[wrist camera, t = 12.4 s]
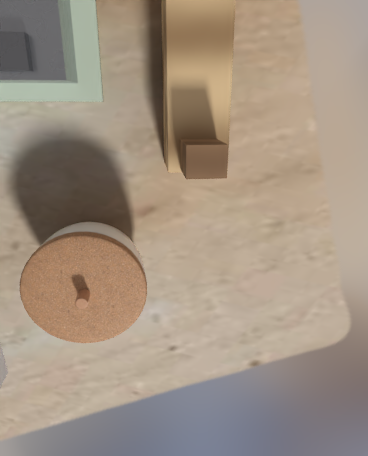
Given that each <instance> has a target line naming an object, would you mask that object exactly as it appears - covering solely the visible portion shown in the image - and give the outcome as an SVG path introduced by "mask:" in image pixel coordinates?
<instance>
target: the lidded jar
mask: <svg viewBox="0 0 368 456" xmlns="http://www.w3.org/2000/svg"><path fill="white" fill-rule="evenodd" d="M20 294H21V300H22V302H23V305H24V308H25V309H26V311H27V313H28V315H29V316H30V317H31V318H32V320H33V321H34V322H35V323H36V324H37V325H38V326H39V327H41V328H42V329H43V330H45V331H46V332H47V333H49V334H51V335H53V336H55V337H57V338H60V339H63V340H66V341H71V342H78V343H92V342H99V341H104V340H107V339H110V338H113V337H115V336H117V335H119V334H121V333H122V332H124V331H125V330H126V329H128V328H129V327H130V326H131V325H132V324H133V323H134V322H135V321H136V320H137V318H138V317H139V315H140V314H141V312H142V310H143V308H144V305H145V302H146V295H147V282H146V277H145V270H144V265H143V261H142V258H141V256H140V253H139V251H138V250H137V248H136V246H135V245H134V243H133V242H132V241H131V240H130V239H129V237H128V236H126V235H125V234H124V233H123V232H121V231H120V230H118V229H116V228H115V227H112V226H110V225H107V224H103V223H99V222H80V223H75V224H72V225H69V226H67V227H65V228H63V229H61V230H59V231H57V232H56V233H54V234H53V235H52V236H50V237H49V238H48V239H47V240H46V241H45V242H44V243H43V244H42V245H41V246H40V247H39V248H38V249H37V250H36V251H35V252H34V253H33V254H32V256H31V257H30V259H29V260H28V262H27V263H26V265H25V267H24V269H23V272H22V275H21V280H20Z"/></svg>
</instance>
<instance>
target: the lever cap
mask: <svg viewBox="0 0 368 456" xmlns="http://www.w3.org/2000/svg"><path fill="white" fill-rule="evenodd" d="M0 83H78V79H77V69H76V59H75V48H74V38H73V28H72V17H71V7H70V0H0Z"/></svg>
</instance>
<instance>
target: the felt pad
mask: <svg viewBox="0 0 368 456" xmlns="http://www.w3.org/2000/svg"><path fill="white" fill-rule="evenodd" d="M70 7H71V17H72V28H73V38H74V48H75V59H76V69H77V79H78V83H0V101H59V102H103V91H102V77H101V64H100V50H99V37H98V24H97V10H96V0H70Z"/></svg>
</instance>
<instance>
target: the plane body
mask: <svg viewBox="0 0 368 456" xmlns="http://www.w3.org/2000/svg"><path fill="white" fill-rule="evenodd" d="M161 12H162V70H163V127H164V162H165V165H166V167H167V170H168V173H173V172H182V173H183V174H184V176H185V178H186V179H214V178H227V168H228V147H229V126H230V105H231V83H232V62H233V41H234V20H235V0H161Z"/></svg>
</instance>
